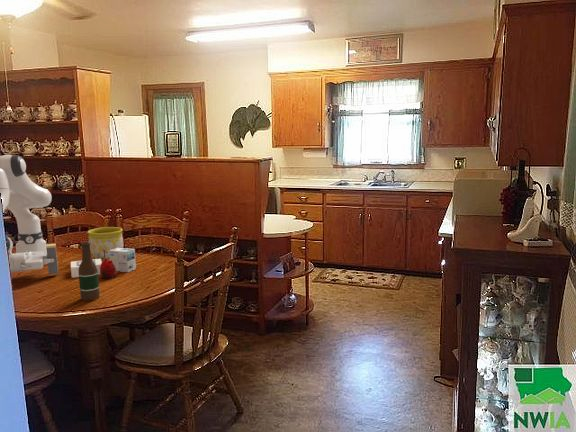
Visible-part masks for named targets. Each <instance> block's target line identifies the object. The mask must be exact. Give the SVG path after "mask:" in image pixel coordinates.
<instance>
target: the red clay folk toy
mask: <svg viewBox="0 0 576 432" xmlns="http://www.w3.org/2000/svg"><path fill="white" fill-rule="evenodd" d="M103 250H104V249H103ZM103 252H104V257H105V256H106V255H105V252H106V253H108V252H107V251H105V250H104V251H103ZM99 276H100V277H101V278H102V279H105V280H106V279H107V280H108V279H113V278H116V277H117V271H116V268H115V265H114V264H113V261H112V260H107V259H106V257H105V259H104V260H103V262H102V263H101V267H100V274H99Z"/></svg>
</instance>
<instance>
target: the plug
mask: <svg viewBox="0 0 576 432" xmlns="http://www.w3.org/2000/svg"><path fill="white" fill-rule="evenodd" d="M46 250H47V259H50V258H54V262H51V263H47V268H48V275H55V274H57V275H58V274H59V264H58V255H57V244H56V243H46Z"/></svg>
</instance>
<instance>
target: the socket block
mask: <svg viewBox="0 0 576 432" xmlns="http://www.w3.org/2000/svg"><path fill="white" fill-rule="evenodd" d="M92 261H93V262H94V263H95V265H96V267H97V271H98V276H100V267H101V263H102V262H101V259H92ZM81 262H82V260H75V261H70V274H71V278H73V279H75V278H79V270H78V269H79V266H80V264H81Z"/></svg>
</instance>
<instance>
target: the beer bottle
mask: <svg viewBox="0 0 576 432" xmlns="http://www.w3.org/2000/svg"><path fill="white" fill-rule="evenodd" d="M80 246H81V261H82V262H81V264H80V266H79V269H78V270H79V277H78V281H79V283H78V284H79V294H80V299H81V301H82V300H84V301H83V302H91V301H90V300H93V301H96V300H98V299H100V282H99V275H98V271H97V267H96V265H95V263H94V262H93V261H92V254H91V250H90V242H89V241H84V242H81V243H80ZM97 298H98V299H97ZM95 299H96V300H95Z"/></svg>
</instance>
